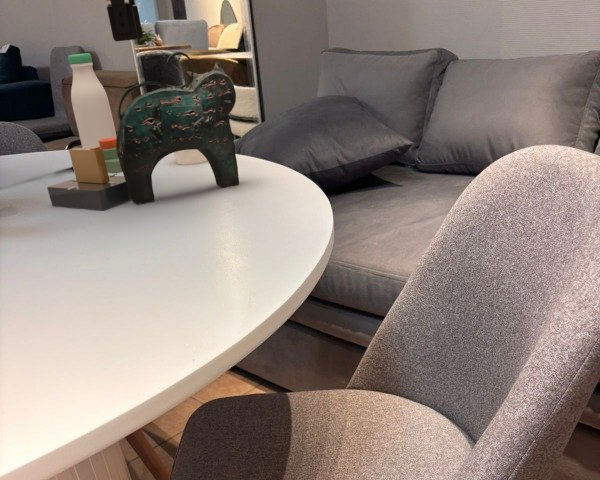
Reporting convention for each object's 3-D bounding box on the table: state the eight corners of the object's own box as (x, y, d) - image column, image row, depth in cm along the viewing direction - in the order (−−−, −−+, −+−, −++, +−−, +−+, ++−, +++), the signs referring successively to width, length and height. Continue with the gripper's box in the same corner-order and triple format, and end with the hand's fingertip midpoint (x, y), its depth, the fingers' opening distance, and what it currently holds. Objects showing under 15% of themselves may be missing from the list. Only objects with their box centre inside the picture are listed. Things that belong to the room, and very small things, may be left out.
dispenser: (82, 171, 128) (76, 150, 125) (111, 162, 133) (106, 142, 131) (117, 173, 123) (112, 151, 121) (146, 164, 128) (142, 143, 126)
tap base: (49, 206, 104) (43, 186, 102) (96, 191, 111) (91, 172, 109) (100, 211, 98) (94, 190, 96) (146, 194, 105) (142, 175, 103)
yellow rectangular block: (76, 181, 104) (68, 147, 101) (84, 179, 105) (75, 146, 102) (102, 183, 101) (94, 148, 98) (109, 181, 102) (101, 146, 99)
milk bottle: (125, 154, 141) (103, 51, 130) (91, 161, 137) (66, 56, 127) (113, 150, 146) (91, 52, 136) (80, 157, 143) (55, 56, 133)
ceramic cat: (239, 178, 110) (221, 46, 99) (253, 184, 105) (237, 46, 94) (125, 200, 103) (93, 60, 92) (134, 208, 98) (102, 61, 87)
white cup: (169, 161, 129) (159, 107, 124) (206, 155, 131) (198, 102, 126) (178, 167, 122) (168, 111, 117) (217, 161, 125) (209, 105, 120)
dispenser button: (96, 150, 126) (94, 141, 125) (110, 147, 128) (108, 137, 127) (109, 151, 124) (107, 141, 123) (122, 147, 126) (120, 137, 126)
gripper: (79, -102, 88) (109, 40, 97) (56, -127, 73) (94, 44, 82) (134, -106, 88) (158, 35, 97) (122, -132, 74) (152, 38, 82)
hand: (129, 39), depth 90 cm, fingers open, 9 cm apart
